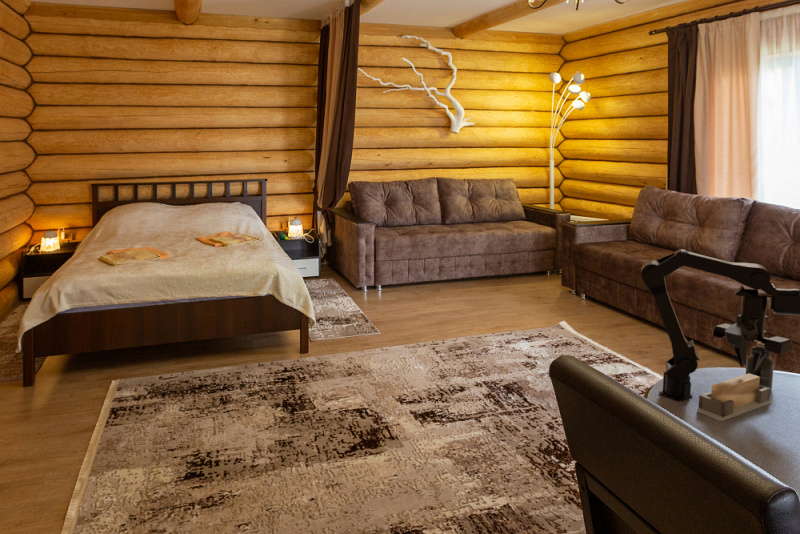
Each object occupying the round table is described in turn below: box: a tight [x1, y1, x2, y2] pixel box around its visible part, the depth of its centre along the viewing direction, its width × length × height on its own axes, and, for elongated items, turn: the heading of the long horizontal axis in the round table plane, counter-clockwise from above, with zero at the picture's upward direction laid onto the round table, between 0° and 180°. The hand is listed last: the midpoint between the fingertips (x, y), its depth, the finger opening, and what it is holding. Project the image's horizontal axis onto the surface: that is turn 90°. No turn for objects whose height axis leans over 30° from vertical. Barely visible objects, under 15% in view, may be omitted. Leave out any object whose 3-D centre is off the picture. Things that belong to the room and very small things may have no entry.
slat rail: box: [696, 385, 772, 422], centre depth 166 cm, size 7×21×4 cm, turn 119°
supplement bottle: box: [745, 345, 775, 392], centre depth 178 cm, size 7×7×12 cm
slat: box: [710, 373, 760, 408], centre depth 166 cm, size 3×16×6 cm, turn 119°
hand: (748, 368), depth 167 cm, fingers open, 3 cm apart
